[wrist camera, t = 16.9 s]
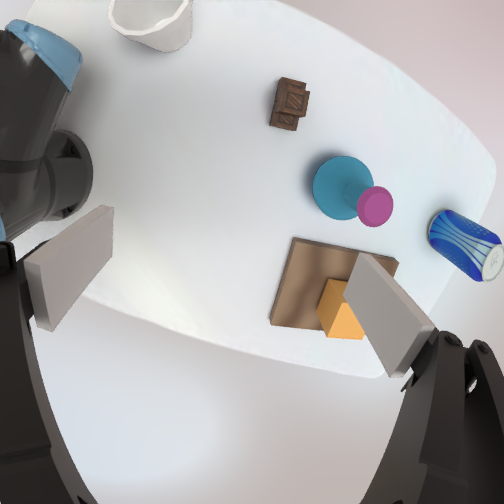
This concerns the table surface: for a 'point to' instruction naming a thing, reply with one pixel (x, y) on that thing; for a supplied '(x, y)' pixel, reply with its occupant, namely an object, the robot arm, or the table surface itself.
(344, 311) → the wooden toy cube
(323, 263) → the post board
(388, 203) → the perfume bottle
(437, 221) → the beer can
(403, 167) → the table surface
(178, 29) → the foam cup
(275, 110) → the stack of crates
